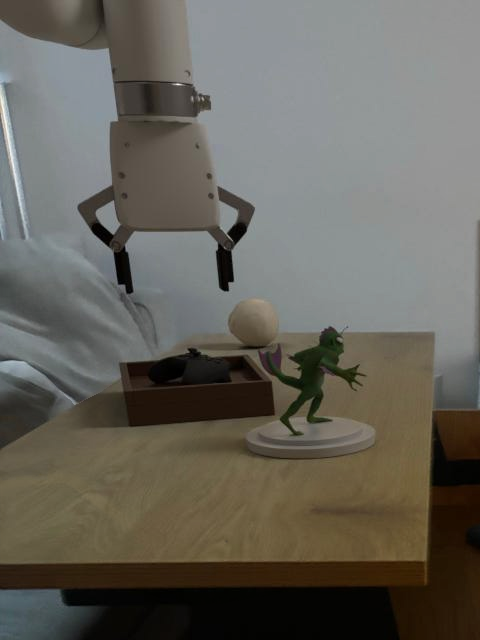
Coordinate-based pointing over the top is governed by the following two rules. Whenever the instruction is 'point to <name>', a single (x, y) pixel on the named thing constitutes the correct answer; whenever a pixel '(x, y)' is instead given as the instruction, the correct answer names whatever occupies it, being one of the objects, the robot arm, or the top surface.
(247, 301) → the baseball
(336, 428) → the monster figurine
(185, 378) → the gaming controller
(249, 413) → the tray
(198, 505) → the top surface
